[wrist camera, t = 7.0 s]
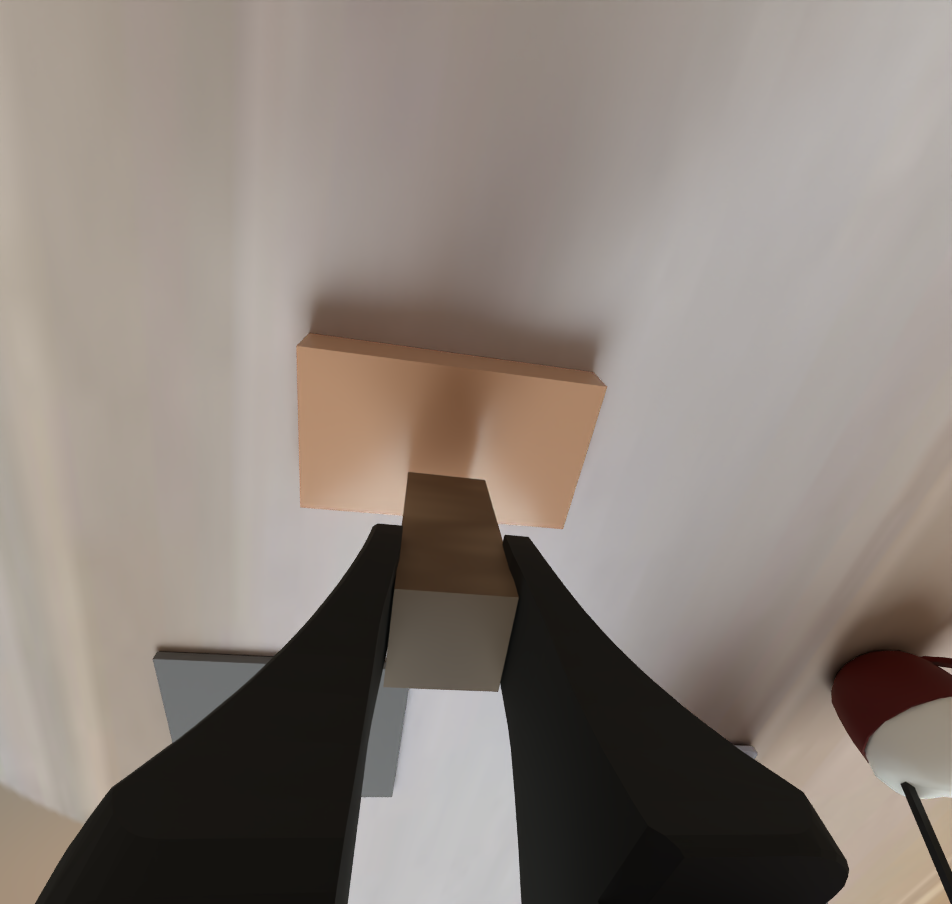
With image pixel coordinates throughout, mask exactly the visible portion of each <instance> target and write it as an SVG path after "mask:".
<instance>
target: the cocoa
mask: <svg viewBox="0 0 952 904" xmlns="http://www.w3.org/2000/svg"><path fill="white" fill-rule="evenodd" d="M938 666H940V667H947V668H952V658H945V657H930V656H922V657H918V656H916V655H913V654H910V653H906V652H903V651H899V650H896V651H873V652H870V653H867V654H863V655H860V656H858V657H856V658H855V659H853V660H851V661H850V662H848V663H847V664H845V665H844V667H843V668H842V669H841V670H840V671H839V672H838V673H837V676H836V678H835V680H834V683H833V686H832V690H831V695H832V704H833V706H834V708H835V710H836V712H837V715H838V717H839V719H840V720H841V722H842V724H843V726H844V728H845V730H846V731H847V733H848V735H849V736H850V738H851V739H852V741H853V743H854V744H855V745H856V747H857V748H858V749H859V751H860V752H861V754H862V755H863V756H864V758H865V759H866V760H867V762H868V763H869V764H870V766H871V768H872V770H873V772H874V774H875V776H876V777H877V778H878V779H880V780H881V781H882V782H884V783H885V784H886V785H888V786H889V787H890V788H891V789H893V790H894V791H895V792H897V793H899V794H901V795H903V796H905V797H906V798H907V801H908V803H909V806H910V808H911V810H912V813H913V815H914V817H915V820H916V822H917V825H918V827H919V829H920V832H921V834H922V837H923V839H924V841H925V844H926V846H927V848H928V851H929V853H930V856H931V858H932V860H933V863H934V865H935V867H936V870H937V872H938V875H939V877H940V879H941V882H942V884H943V886H944V889H945V891H946V894H947V896H948V898H949V901H950V903H951V904H952V871H951V869H950V867H949V864H948V862H947V860H946V858H945V855H944V853H943V851H942V848H941V846H940V844H939V842H938V839H937V837H936V835H935V832H934V830H933V828H932V826H931V823H930V821H929V819H928V816H927V814H926V812H925V810H924V807H923V805H922V803H921V800H920V798H921V799H930V798H938V797H950V798H952V675H951V674H949V673H948V672H946V671H945V670H943V669H942V668H940V667H938Z"/></svg>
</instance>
